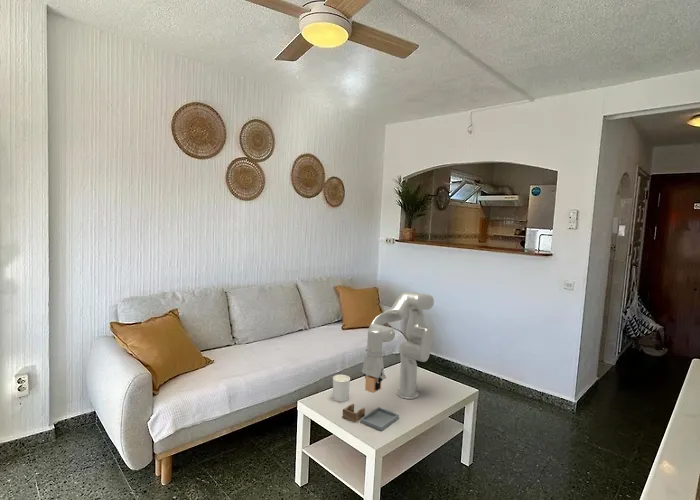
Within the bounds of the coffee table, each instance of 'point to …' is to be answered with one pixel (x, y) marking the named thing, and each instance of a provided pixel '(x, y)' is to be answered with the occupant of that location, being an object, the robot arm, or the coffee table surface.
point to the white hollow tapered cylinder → (341, 388)
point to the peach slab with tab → (371, 384)
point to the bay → (350, 415)
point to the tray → (379, 418)
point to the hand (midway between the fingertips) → (372, 387)
